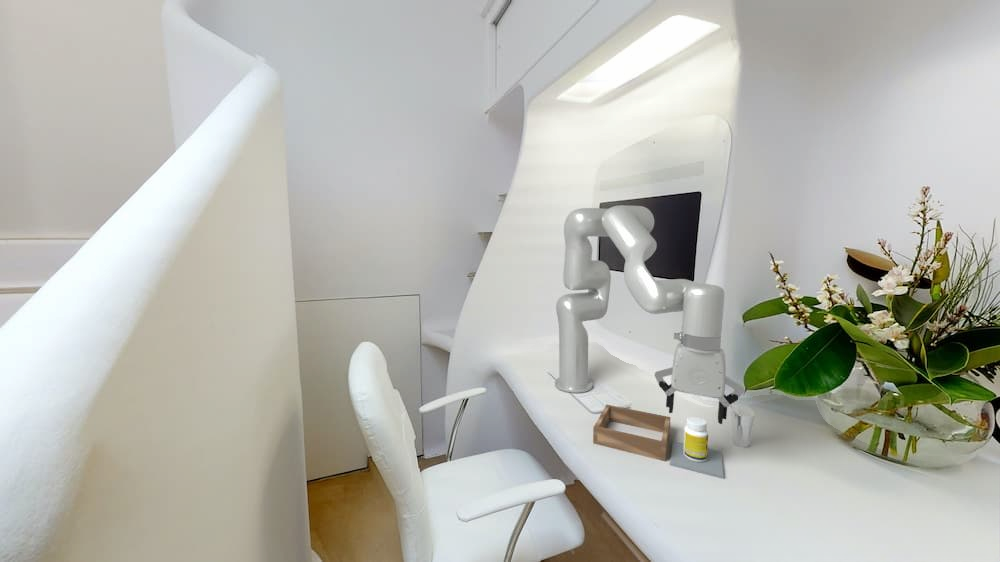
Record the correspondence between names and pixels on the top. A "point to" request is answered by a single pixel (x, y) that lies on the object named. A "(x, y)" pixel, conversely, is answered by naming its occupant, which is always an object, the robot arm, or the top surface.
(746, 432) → the milkshake
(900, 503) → the top surface
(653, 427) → the walnut box
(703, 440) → the supplement bottle
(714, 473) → the slate mat
